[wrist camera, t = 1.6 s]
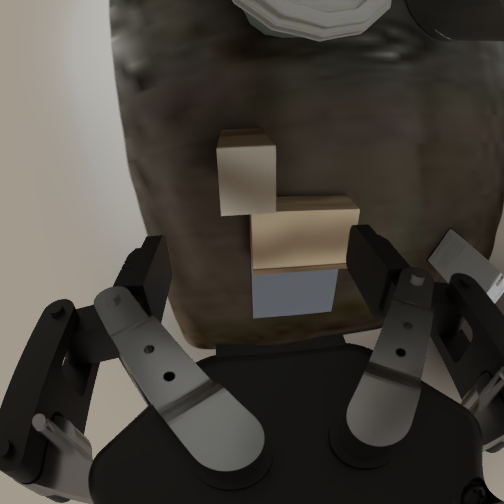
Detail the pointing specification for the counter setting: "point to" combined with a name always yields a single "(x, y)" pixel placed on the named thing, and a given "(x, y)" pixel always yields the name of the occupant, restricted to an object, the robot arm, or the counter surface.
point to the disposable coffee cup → (313, 17)
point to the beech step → (302, 234)
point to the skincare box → (466, 264)
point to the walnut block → (246, 172)
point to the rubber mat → (293, 293)
